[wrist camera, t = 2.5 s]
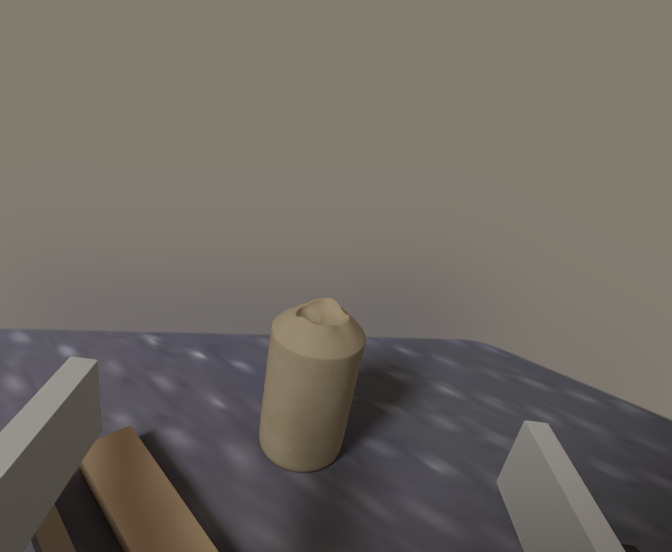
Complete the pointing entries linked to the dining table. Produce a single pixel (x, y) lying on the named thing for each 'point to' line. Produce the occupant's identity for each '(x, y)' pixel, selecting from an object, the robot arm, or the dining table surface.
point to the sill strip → (140, 498)
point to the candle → (309, 384)
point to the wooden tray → (52, 535)
